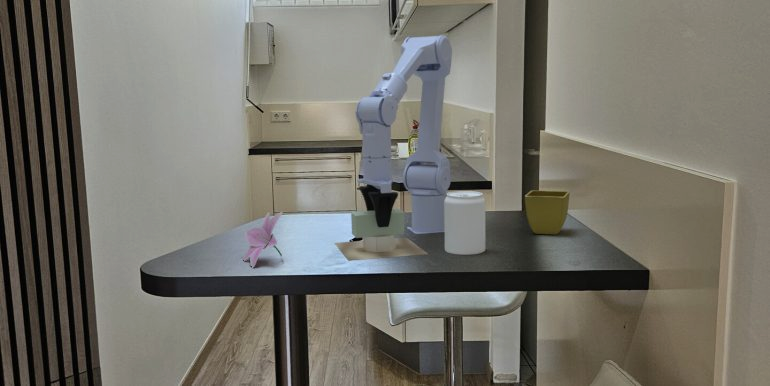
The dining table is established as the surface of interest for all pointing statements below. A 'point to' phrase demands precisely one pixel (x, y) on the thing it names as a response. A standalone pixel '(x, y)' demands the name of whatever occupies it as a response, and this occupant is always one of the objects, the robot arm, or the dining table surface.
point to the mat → (358, 253)
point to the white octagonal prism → (379, 243)
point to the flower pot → (547, 210)
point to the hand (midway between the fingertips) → (378, 223)
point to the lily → (261, 238)
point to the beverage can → (464, 222)
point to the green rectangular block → (368, 227)
